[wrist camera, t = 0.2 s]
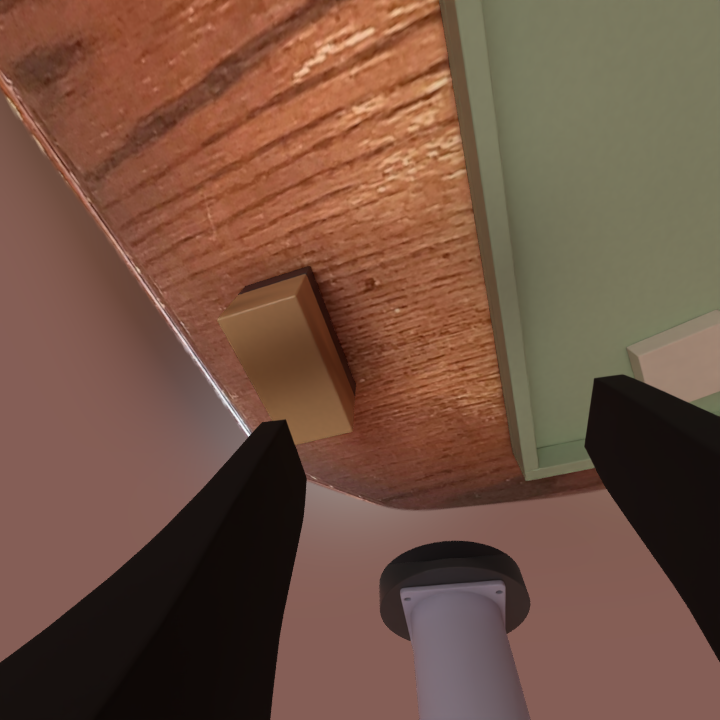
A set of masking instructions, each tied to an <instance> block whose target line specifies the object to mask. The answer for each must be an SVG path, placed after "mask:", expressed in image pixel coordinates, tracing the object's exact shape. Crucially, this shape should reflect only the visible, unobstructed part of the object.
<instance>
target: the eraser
mask: <svg viewBox="0 0 720 720" xmlns="http://www.w3.org/2000/svg"><path fill="white" fill-rule="evenodd" d="M217 321H218V323H219V325H220V327H221V328H222V330H223V332H224V334H225V336H226V337H227V339H228V341H229V343H230V345H231V347H232V348H233V350H234V352H235V354H236V356H237V358H238V359H239V361H240V363H241V365H242V367H243V369H244V370H245V372H246V374H247V376H248V378H249V379H250V381H251V383H252V385H253V387H254V389H255V390H256V392H257V394H258V396H259V398H260V400H261V401H262V403H263V405H264V407H265V409H266V410H267V412H268V414H269V416H270V418H271V420H272V421H276V420H284V419H286V421H287V424H288V427H289V430H290V432H291V435H292V438H293V441H294V444H295V445H298V444H303V443H307V442H311V441H315V440H320V439H324V438H328V437H333V436H337V435H341V434H345V433H350V432H352V431H353V422H354V405H355V392H356V383H355V381H354V378H353V376H352V373H351V370H350V368H349V365H348V363H347V360H346V358H345V355H344V352H343V350H342V347H341V345H340V342H339V340H338V337H337V334H336V332H335V329H334V327H333V324H332V321H331V319H330V316H329V314H328V311H327V309H326V306H325V303H324V301H323V298H322V296H321V293H320V291H319V288H318V285H317V283H316V280H315V278H314V275H313V272H312V270H311V267H310V266H307V267H304V268H301V269H298V270H295V271H292V272H289V273H285V274H282V275H279V276H276V277H273V278H270V279H267V280H264V281H260V282H257V283H254V284H251V285H248V286H245V287H244V288H243V290H242V291H241V292H240V293H239V294H238V296H237V297H236V298H235V299H234V300H233V302H232V303H231V304H230V305H229V306H228V307H227V308H226V310H225V311H224V312H223V313H222V314H221V315H220V316H219V318H218V319H217Z"/></svg>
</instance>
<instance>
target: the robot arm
mask: <svg viewBox="0 0 720 720" xmlns="http://www.w3.org/2000/svg"><path fill="white" fill-rule="evenodd" d="M584 447H585V449H586V451H587V453H588V455H589V457H590V459H591V461H592V463H593V465H594V467H595V469H596V471H597V473H598V474H599V476H600V478H601V480H602V482H603V484H604V486H605V487H606V489H607V490H608V492H609V493H610V495H611V496H612V498H613V499H614V501H615V502H616V503H617V505H618V506H619V508H620V509H621V511H622V512H623V514H624V515H625V516H626V518H627V519H628V521H629V522H630V524H631V525H632V526H633V528H634V529H635V531H636V532H637V534H638V535H639V536H640V538H641V539H642V541H643V542H644V543H645V545H646V547H647V548H648V549H649V551H650V552H651V554H652V555H653V557H654V558H655V559H656V561H657V562H658V564H659V565H660V567H661V568H662V569H663V571H664V572H665V574H666V575H667V576H668V578H669V579H670V581H671V582H672V583H673V585H674V586H675V588H676V590H677V591H678V593H679V594H680V596H681V597H682V599H683V600H684V602H685V603H686V605H687V607H688V608H689V609H690V611H691V613H692V615H693V616H694V618H695V620H696V622H697V624H698V625H699V627H700V629H701V630H702V632H703V634H704V636H705V637H706V639H707V641H708V643H709V644H710V646H711V648H712V650H713V651H714V653H715V655H716V656H717V658H718V660H719V662H720V416H717V415H715V414H713V413H711V412H708V411H706V410H704V409H702V408H700V407H697V406H695V405H693V404H691V403H689V402H686V401H684V400H682V399H680V398H677V397H675V396H673V395H671V394H669V393H666V392H664V391H662V390H660V389H657V388H655V387H653V386H651V385H648V384H646V383H644V382H641V381H639V380H637V379H634V378H632V377H629V376H626V375H624V374H621V375H613V376H606V377H598V378H594V382H593V389H592V396H591V403H590V410H589V417H588V424H587V431H586V438H585V445H584ZM306 481H307V478H306V475H305V472H304V469H303V466H302V464H301V461H300V458H299V455H298V452H297V449H296V447H295V444H294V441H293V438H292V435H291V432H290V430H289V427H288V424H287V421H286V419H284V420H276V421H269V422H262V423H261V424H260V425H259V426H258V427H257V428H256V429H255V431H254V432H253V433H252V434H251V435H250V436H249V437H248V438H247V439H246V441H245V442H244V443H243V444H242V445H241V446H240V447H239V449H238V450H237V451H236V452H235V453H234V454H233V455H232V457H231V458H230V459H229V460H228V461H227V462H226V463H225V464H224V465H223V467H222V468H221V469H220V470H219V471H218V472H217V473H216V474H215V475H214V477H213V478H212V479H211V480H210V481H209V482H208V483H207V484H206V486H204V488H203V489H202V490H201V491H200V492H199V493H198V494H197V495H196V496H195V497H194V498H193V499H192V500H191V501H190V502H189V503H188V504H187V505H186V506H185V507H184V508H183V509H182V510H181V511H180V512H179V513H178V514H177V516H175V517H174V518H173V519H172V520H171V522H169V524H168V525H167V526H165V528H163V529H162V531H160V532H159V533H158V534H157V535H156V536H155V537H154V538H153V539H152V540H151V541H150V542H149V543H148V544H147V545H145V546H144V547H143V548H142V549H141V550H140V551H139V552H138V553H137V554H136V555H134V556H133V557H132V558H131V559H130V560H129V561H128V562H126V563H125V564H124V565H123V566H122V567H121V568H120V569H119V570H117V571H116V572H115V573H114V574H113V575H112V576H110V577H109V578H108V579H107V580H106V581H104V582H103V583H102V584H101V585H100V586H98V587H97V588H96V589H95V590H93V591H92V592H91V593H90V594H88V595H87V596H86V597H85V598H83V599H82V600H81V601H80V602H78V603H77V604H76V605H75V606H74V607H72V608H71V609H70V610H69V611H67V612H66V613H65V614H64V615H62V616H61V617H60V618H59V619H57V620H56V621H55V622H54V623H52V624H51V625H50V626H49V627H47V628H46V629H45V630H43V631H42V632H41V633H40V634H38V635H37V636H35V637H34V638H33V639H32V640H30V641H29V642H27V643H26V644H25V645H23V646H22V647H21V648H20V649H18V650H17V651H15V652H14V653H13V654H11V655H10V656H9V657H7V658H6V659H4V660H3V661H2V662H0V720H270V716H271V706H272V696H273V687H274V679H275V670H276V662H277V654H278V645H279V637H280V631H281V626H282V619H283V614H284V609H285V605H286V600H287V595H288V590H289V585H290V581H291V576H292V571H293V566H294V562H295V557H296V552H297V548H298V543H299V538H300V533H301V528H302V523H303V517H304V507H305V495H306ZM400 596H401V601H402V605H403V609H404V613H405V618H406V622H407V626H408V631H409V635H410V639H411V643H412V648H413V651H414V664H415V676H416V686H417V699H418V711H419V720H530V716H529V712H528V709H527V705H526V702H525V698H524V694H523V691H522V687H521V684H520V681H519V677H518V673H517V670H516V666H515V662H514V659H513V655H512V651H511V648H510V644H509V641H508V637H507V634H506V630H505V605H506V587H505V584H504V582H503V581H501V580H491V581H479V582H466V583H454V584H442V585H429V586H417V587H405V588H402V589H401V590H400Z"/></svg>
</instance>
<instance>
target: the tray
mask: <svg viewBox="0 0 720 720" xmlns="http://www.w3.org/2000/svg"><path fill="white" fill-rule="evenodd" d="M439 3H440V9H441V15H442V21H443V27H444V33H445V39H446V46H447V52H448V58H449V64H450V70H451V76H452V82H453V89H454V95H455V101H456V107H457V113H458V119H459V125H460V132H461V138H462V144H463V150H464V156H465V162H466V168H467V175H468V181H469V187H470V193H471V199H472V205H473V211H474V218H475V224H476V230H477V236H478V242H479V248H480V254H481V261H482V267H483V273H484V279H485V285H486V291H487V297H488V303H489V310H490V316H491V322H492V328H493V334H494V340H495V346H496V353H497V359H498V365H499V371H500V377H501V383H502V389H503V396H504V402H505V408H506V414H507V420H508V426H509V432H510V439H511V445H512V451H513V454H514V456H515V459H516V460H517V463H518V465H519V467H520V469H521V472H522V474H523V476H524V478H525V480H526V481H530V480H535V479H540V478H545V477H550V476H555V475H560V474H566V473H571V472H576V471H581V470H586V469H591V468H595V467H594V465H593V463H592V461H591V459H590V457H589V455H588V453H587V451H586V449H585V447H584V445H585V438H586V431H587V424H588V417H589V410H590V403H591V396H592V389H593V382H594V378H598V377H606V376H613V375H621V374H624V375H626V376H629V377H632V378H634V379H635V377H634V373H633V370H632V366H631V363H630V359H629V355H628V352H627V348H626V347H628V346H630V345H632V344H635V343H637V342H640V341H642V340H644V339H647V338H649V337H652V336H654V335H656V334H659V333H661V332H663V331H666V330H668V329H671V328H673V327H675V326H678V325H680V324H683V323H685V322H687V321H690V320H692V319H695V318H697V317H699V316H702V315H704V314H707V313H709V312H711V311H714V310H719V311H720V0H439ZM689 403H691V404H693V405H695V406H697V407H700V408H702V409H704V410H706V411H708V412H711V413H713V414H715V415H717V416H720V391H719V392H716V393H713V394H711V395H708V396H705V397H702V398H700V399H697V400H694V401H691V402H689Z"/></svg>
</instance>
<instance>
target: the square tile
mask: <svg viewBox="0 0 720 720" xmlns="http://www.w3.org/2000/svg"><path fill="white" fill-rule="evenodd" d="M626 348H627V352H628V355H629V359H630V363H631V366H632V370H633V373H634V377H635V379H637V380H639V381H641V382H644V383H646V384H648V385H651V386H653V387H655V388H657V389H660V390H662V391H664V392H666V393H669V394H671V395H673V396H675V397H677V398H680V399H682V400H684V401H686V402H691V401H694V400H697V399H700V398H702V397H705V396H708V395H711V394H713V393H716V392H719V391H720V311H719V310H714V311H711V312H709V313H707V314H704V315H702V316H699V317H697V318H695V319H692V320H690V321H687V322H685V323H683V324H680V325H678V326H675V327H673V328H671V329H668V330H666V331H663V332H661V333H659V334H656V335H654V336H652V337H649V338H647V339H644V340H642V341H640V342H637V343H635V344H632V345H630V346H628V347H626Z"/></svg>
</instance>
